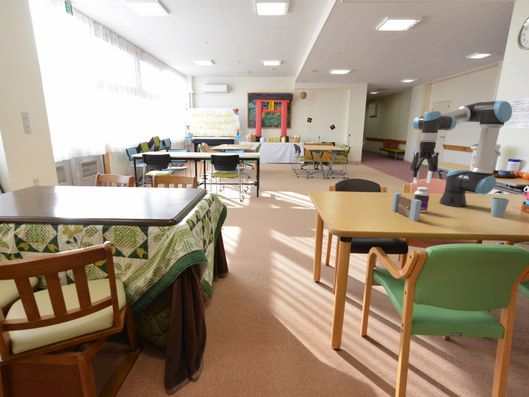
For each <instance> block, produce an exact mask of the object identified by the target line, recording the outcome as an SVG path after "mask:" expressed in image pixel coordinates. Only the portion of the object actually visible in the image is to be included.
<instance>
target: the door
mask: <svg viewBox="0 0 529 397" xmlns="http://www.w3.org/2000/svg"><path fill="white" fill-rule="evenodd" d="M412 199H413V198H409V197H406V196H403V195H402V194H401V195H399V199H398V206H397V212H396V213H399V214H401V215H403V216H405V217H407V218H409V214H410V207H411V200H412Z"/></svg>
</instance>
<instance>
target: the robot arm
mask: <svg viewBox="0 0 529 397" xmlns="http://www.w3.org/2000/svg"><path fill="white" fill-rule="evenodd" d="M512 114H513V107H512V105H511V104H510V102H508V101H506V100H494V101H492V100H491V101H482V102H481V101H480V102H475V103H470V104H467V105H464V106H460V107H458V108H457V109H453V110H449V111H448V110H447V111H442V112H441V111H438V110H431V111H430V110H429V111H428V110H427V111H425V112H424V115H422V116H417V117H414V119H413V121H412V127H413V129H414V130H419V131H421V134H420V142H419V151H414V152H413V159H412V162H411V166H410V171H413V173H412V177H413V181H412V182H413V184H415V185H417V184H419V183H418V182H419V177H420V171H419V170H420V168H421V166H422V164H423V162H424V161H425V160H426V161H427V165H428V171H427V176H426V184H432V178H433V177H434V173H435V172H436V171H438V169H439V168H438V166H439V164H438V163H439V155H440V152H438V151H435V149H436V145H437V142H436V141H437V138H438V132H439V131H451V130H453V129H455V127H457V124H458V123H461V124H462V123H478V124H479V127H480V128H481V131H480V134H479V139H478V143H477V144H478V145H477V149H476V154H475V157H474V162H473V167H472V168H471V169H450V170H448V172H447V175H446V180H445V186H444V191H443V193H442V196H441V197H440V198H439V204H442V205H445V206H448V207H454V208H455V207H456V208H464V207H467V203H468V202H467V199H466V192H468V193H474V194H477V195H486V194H490V193H491V191H492V190H494V188H495V186H496V183H497V180H496V177H495V176H494V174H493V173H494V172H493V171H492V170H491V169H492V165H493V161H494V156H495V153H496V152H495V151H496V147H497V142H498V137H499V136H500V135H499V134H500V129H501V128H503V127H504V126H505V123H507V122H509V121H510V119H511V118H512Z"/></svg>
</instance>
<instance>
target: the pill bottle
mask: <svg viewBox="0 0 529 397" xmlns="http://www.w3.org/2000/svg"><path fill="white" fill-rule="evenodd" d="M416 189H417V190H416V191H414V193H413V199H417V200H420V201H422V202H421V208H420V214H421V213H427V212H428V207H429V201H430V193H429V191H428V190H429V188H428V187H425V186H418V187H417V188H416Z"/></svg>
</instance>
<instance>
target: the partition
mask: <svg viewBox="0 0 529 397" xmlns="http://www.w3.org/2000/svg"><path fill="white" fill-rule="evenodd" d="M399 195H401V196H402V193H401V192H394V193H393V198H392V206H391V212H395V213H398V212H397V206H398V199H399ZM411 199H412V200H411V207H410V214H409V217H408V219H409V220H411V221H413V222H419V220H420V216H421V215H420V214H421V212H420V208H421V202H422V201H420V200H417V199H414V198H411Z"/></svg>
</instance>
